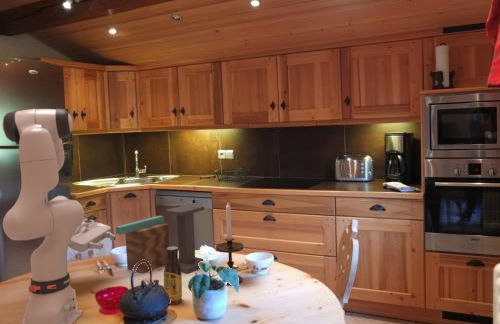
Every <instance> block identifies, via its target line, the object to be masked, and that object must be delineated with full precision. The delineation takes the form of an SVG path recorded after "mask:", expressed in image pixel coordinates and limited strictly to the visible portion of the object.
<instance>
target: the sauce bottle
mask: <svg viewBox="0 0 500 324" xmlns="http://www.w3.org/2000/svg"><path fill="white" fill-rule="evenodd" d="M178 259H179V248H178V246H173V245H172V246H169V247H168V248H167V262H166V266H165V265H164V269H163V270H164V271H163V289H164V288H165V290H166V291H167V293H168V294H169V296H170V299H171V303H170V304H169V305H177V304H179V303H181V302H182V299H183V282H182V279H183V278H182V276H183V275H182V274H183V273H182V272H181V264H180V263H179V261H178Z"/></svg>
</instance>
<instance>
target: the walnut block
mask: <svg viewBox="0 0 500 324" xmlns="http://www.w3.org/2000/svg"><path fill="white" fill-rule="evenodd" d="M169 231H170V230H169V223H165V222H164V223H162V224H158V225H154V226H151V227H147V228H143V229H140V230H136V231H132V232H129V233H125V249H126V250H125V251H126V253H125V254H126V265H127V270H128V269H130V270H129V271H132V269H133V267H134V265H135V264H136V263H137V262H138V261H140V260H142V259H145V260H147V261H149V263H150V264H151V268H152V270H155V269H157V268H161V267H163V266H164V267H165V263H166V262H167V248H168V247H170V233H169ZM152 270H151V271H152ZM147 272H150V271H149V269H148V266H147V264H146V263H142V264H140V265H139V266H138V268H137V270H136V273H140V274H145V273H147Z"/></svg>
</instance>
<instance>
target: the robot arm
mask: <svg viewBox="0 0 500 324" xmlns="http://www.w3.org/2000/svg"><path fill="white" fill-rule="evenodd" d="M69 112H70V111H68V110H66V109H64V108H56V109H54V108H31V109H23V110H18V111H17V110H13V111H10V112H7V113H6V114H5V115H4V116H3V119H2V131H3V133H4V135H5V137H6V138H7V140H9V141H11V142H13V143H15V144H16V146H17V145H18V151H19V152H18V153H19V154H18V155H19V165H20V176H21V177H20V178H21V186H20V187H21V188H20V193H19V195H18V198H17V199H16V201H15V203H14V205H13V206H12V207H11V208H10V209H9V210H8V211H6V214H5V215H4V217H3V220H2V229H3V231H4V234H5V235H6V236H7V237H8V238H9V239H10V240H12V241H29V240H34V239H38V238H43V237H44V238H45V239H44V238H43V239H44V240H43V242H42V243H41V244H40V246H38V247H37V248H36V249H34V250H33V252H32V254H31V255H30V270H31V278H30V283H29V286H28V292H29V293H28V295H29V296H28V299H27V304H26V307H25V313H24V315H23V317H22V320H21V323H20V324H74V323H75V322H76V321H77V320H78V319H79V318H80V317H81V316H82V315H83V314H84V313H83V310H82V309H79V308H78V302H77V295H76V290H75V289H74V288H73V287H72V286H71V284H70V283H71V275H70V273H69V271H68V270H69V269H68V249H69V248H70V250H71V249H72V250H74V251H76V252H78V253H84V252H86V251H87V250H89V249H91V250H101V249H103V248H104V247H103V246H104V244H103V243H100V242H101V241H103V240H105V239H106V238H107V239H109V240H110V241H113V242H114V241H115V240H116V239H117V236H116V235H115V234H113V233H112V227H111V226H110V225H107V224H104V223H100V222H95V220H94V219H88V220H84V219H85V210H84V208H83V207H84V206H83V205H82V204H81V203H80V202H79V201H78V200H75V199H70V198H69V197H68V196H64V195H57V196H56V197H54V198H52V199H50V200H48V198H49V197H48V195H49V194H48V193H49V192H50V191H52V190H53V189H55V188H56V187H57V185H58V184H59V180H60V176H59V171H60V170H62V168H63V166H64V163H65V158H66V157H65V150H64V145H63V140H62V139H65V138H68V137H69V136H70V135H71V134H72V132H73V130H74V129H73V128H74V121H73V117H72V115H71V114H70V113H69Z"/></svg>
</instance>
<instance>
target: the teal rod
mask: <svg viewBox="0 0 500 324" xmlns="http://www.w3.org/2000/svg"><path fill="white" fill-rule="evenodd" d="M162 223H164V224H165V216H164V215H157V216H152V217H149V218H145V219H141V220H138V221H133V222H129V223H124V224H121V225H117V226H115V234H116V235H120V236H121V235H124V234H125V233H129V232H132V231H136V230H140V229H143V228H147V227H151V226H154V225H158V224H162Z"/></svg>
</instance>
